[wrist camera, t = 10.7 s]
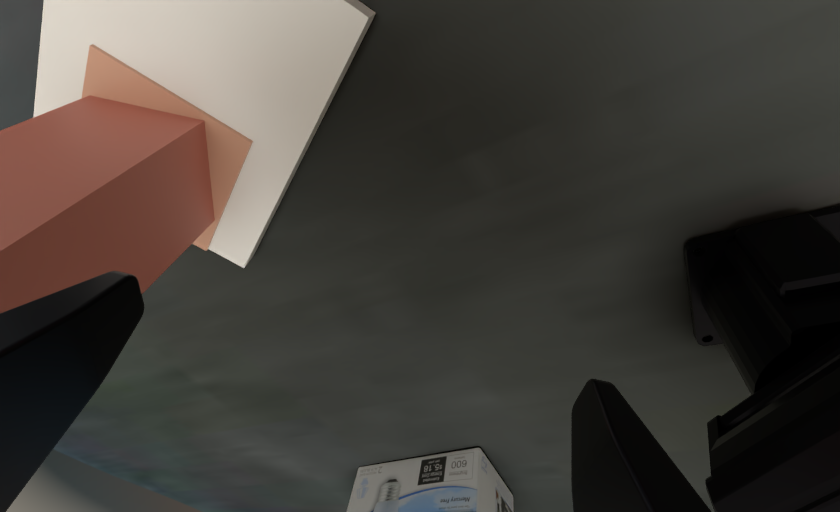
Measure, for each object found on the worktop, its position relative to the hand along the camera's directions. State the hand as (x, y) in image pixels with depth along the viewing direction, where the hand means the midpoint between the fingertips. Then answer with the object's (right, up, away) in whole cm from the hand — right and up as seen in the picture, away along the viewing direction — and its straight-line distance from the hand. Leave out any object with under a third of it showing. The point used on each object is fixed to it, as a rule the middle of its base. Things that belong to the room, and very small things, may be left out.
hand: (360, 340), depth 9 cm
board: (-9, +9, +11) cm, 17 cm away
